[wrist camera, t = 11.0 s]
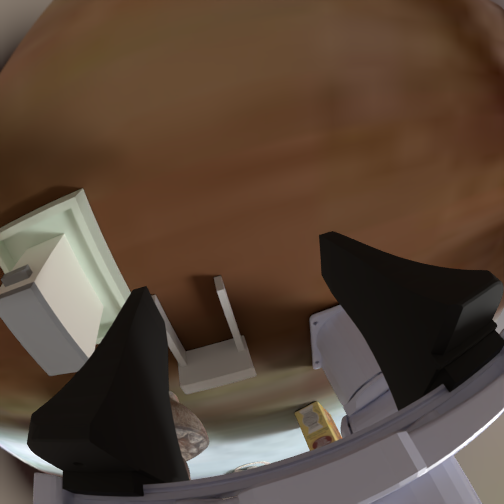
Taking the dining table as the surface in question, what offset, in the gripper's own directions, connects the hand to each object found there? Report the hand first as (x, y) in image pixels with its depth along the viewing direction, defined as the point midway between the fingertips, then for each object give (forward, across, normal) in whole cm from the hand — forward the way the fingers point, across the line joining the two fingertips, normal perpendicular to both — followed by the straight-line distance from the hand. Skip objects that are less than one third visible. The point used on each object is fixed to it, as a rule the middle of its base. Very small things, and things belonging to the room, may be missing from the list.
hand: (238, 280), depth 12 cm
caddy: (+9, +13, +2) cm, 16 cm away
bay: (+10, +4, +10) cm, 15 cm away
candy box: (+10, -6, +38) cm, 40 cm away
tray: (+10, +13, +2) cm, 17 cm away
